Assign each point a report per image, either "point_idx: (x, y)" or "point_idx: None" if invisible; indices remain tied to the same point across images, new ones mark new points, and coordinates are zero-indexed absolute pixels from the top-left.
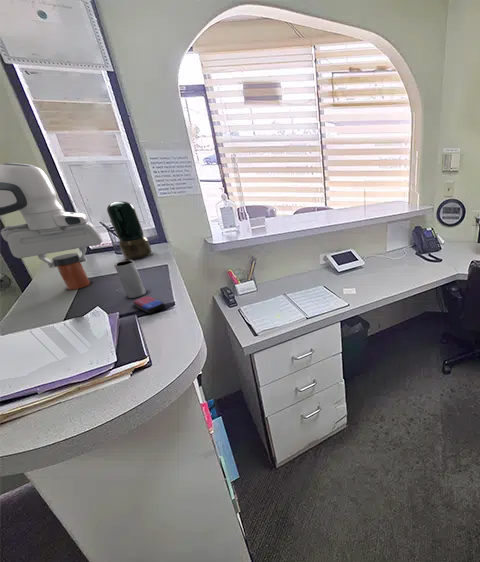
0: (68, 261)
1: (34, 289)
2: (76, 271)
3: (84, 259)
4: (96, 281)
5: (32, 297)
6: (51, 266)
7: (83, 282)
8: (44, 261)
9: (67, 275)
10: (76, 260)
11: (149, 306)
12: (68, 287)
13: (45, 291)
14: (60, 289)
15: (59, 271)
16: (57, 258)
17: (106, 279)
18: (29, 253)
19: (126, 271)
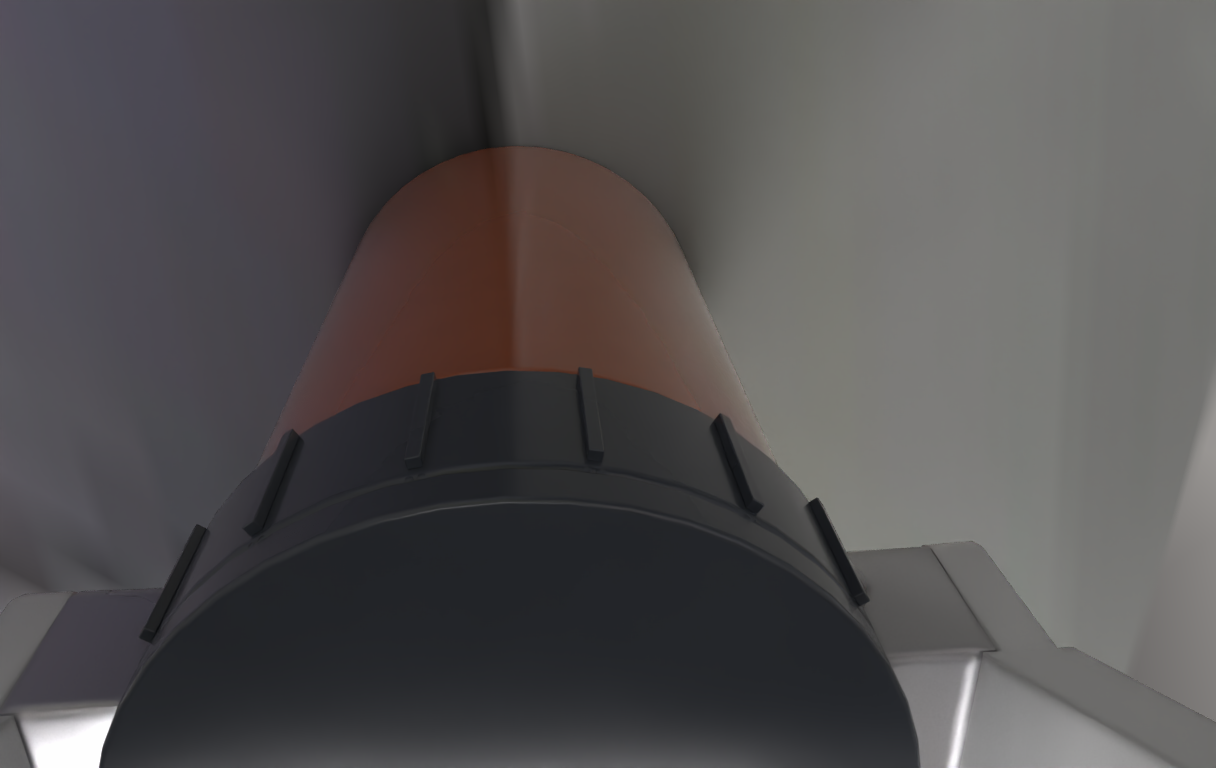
0: (398, 429)
1: (1117, 613)
2: (380, 304)
3: (23, 628)
4: (256, 372)
5: (1172, 225)
6: (934, 555)
7: (390, 213)
8: (1145, 692)
9: (601, 261)
10: (203, 546)
11: None
12: (664, 226)
13: (998, 407)
14: (799, 344)
15: (760, 430)
16: (751, 716)
17: (84, 367)
18: None
19: None
